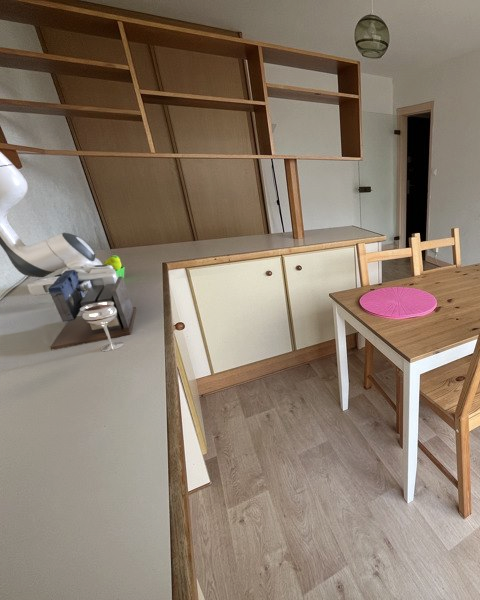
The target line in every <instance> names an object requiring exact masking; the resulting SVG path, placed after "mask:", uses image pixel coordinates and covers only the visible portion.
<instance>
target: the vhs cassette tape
mask: <svg viewBox="0 0 480 600" xmlns="http://www.w3.org/2000/svg"><path fill="white" fill-rule="evenodd" d="M61 274H62V273H61ZM78 284H80V282H79V281H78V275H77V273H76V271H75V270H68V271H65V272H64V273H63V274H62V275H61V276H60V277H59V278H58V279H57V280H56V281H55V282H54V284H53V285H51V286H50V287H49V288H48V290H49V293H50V294H49V296H50V297H51V299H52V301H53V304H54V307H55V308H56V310H57V312H58V315H59V317H60V319H61V322H64V323H66V322H68V321H72V320H75V319H76V317H77V316H79V314H80V312H81V310H80V308H82V306H81V303H80V302H81V301H82V299H83V298H84V296H85V295H86V294H85V291H77V288H76V285H78Z"/></svg>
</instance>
